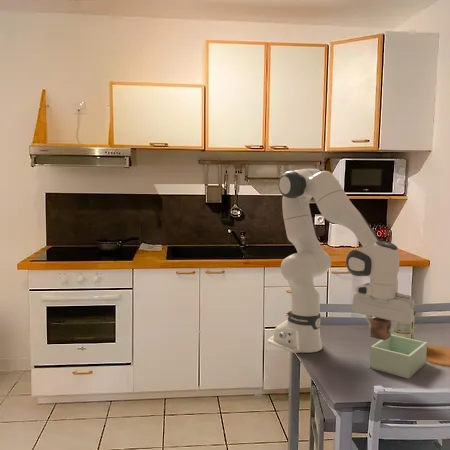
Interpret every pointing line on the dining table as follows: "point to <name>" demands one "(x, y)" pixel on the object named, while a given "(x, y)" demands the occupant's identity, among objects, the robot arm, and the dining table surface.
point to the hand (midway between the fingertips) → (380, 330)
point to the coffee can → (405, 329)
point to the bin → (398, 356)
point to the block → (380, 328)
